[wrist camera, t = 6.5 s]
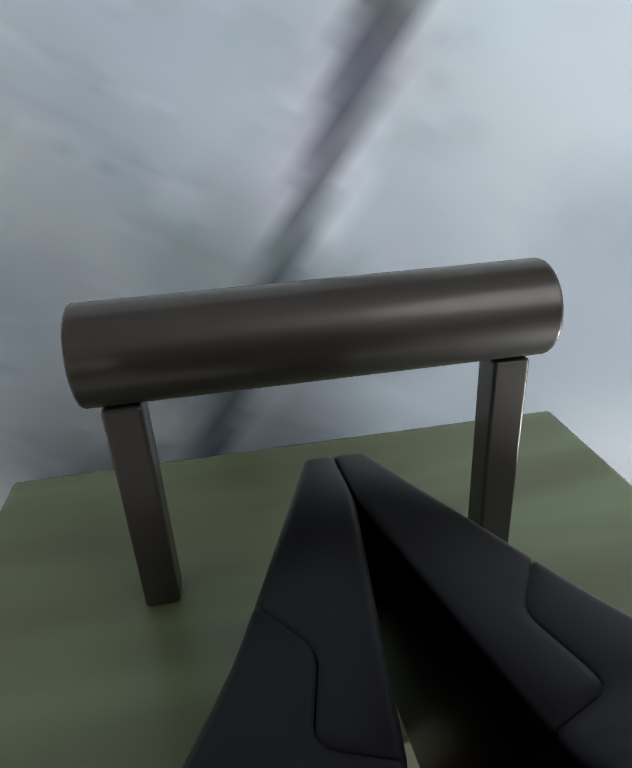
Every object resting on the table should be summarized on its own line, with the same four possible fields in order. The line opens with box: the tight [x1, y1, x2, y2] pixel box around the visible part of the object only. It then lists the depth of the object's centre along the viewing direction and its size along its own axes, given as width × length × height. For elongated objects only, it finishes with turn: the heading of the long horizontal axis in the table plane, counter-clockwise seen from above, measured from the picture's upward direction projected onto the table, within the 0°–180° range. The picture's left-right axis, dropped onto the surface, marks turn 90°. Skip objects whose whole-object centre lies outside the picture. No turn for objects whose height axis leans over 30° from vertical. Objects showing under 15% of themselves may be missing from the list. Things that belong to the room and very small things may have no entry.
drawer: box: [0, 258, 632, 768], centre depth 13 cm, size 19×13×8 cm
